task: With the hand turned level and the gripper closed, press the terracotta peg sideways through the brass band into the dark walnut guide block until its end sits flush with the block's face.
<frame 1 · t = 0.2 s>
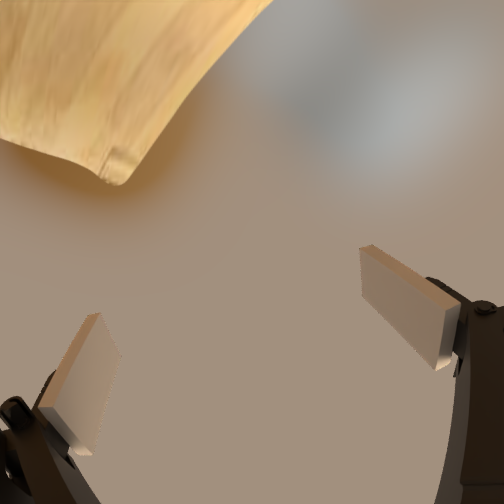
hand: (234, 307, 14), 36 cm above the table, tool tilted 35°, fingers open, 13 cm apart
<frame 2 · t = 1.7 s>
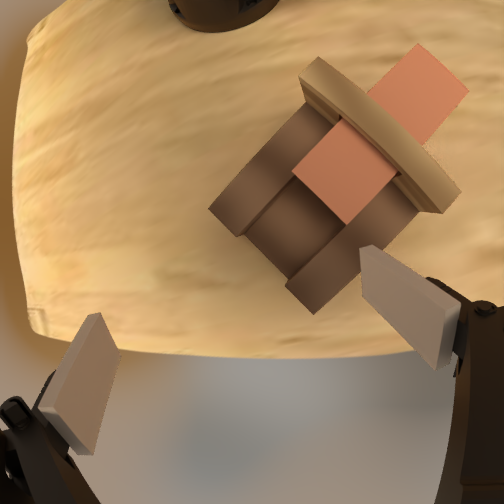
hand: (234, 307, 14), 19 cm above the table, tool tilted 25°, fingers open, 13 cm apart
guide block: (324, 200, 31), on the table
peg: (382, 134, 20), point 9 cm above the table, slide at 7.0 cm
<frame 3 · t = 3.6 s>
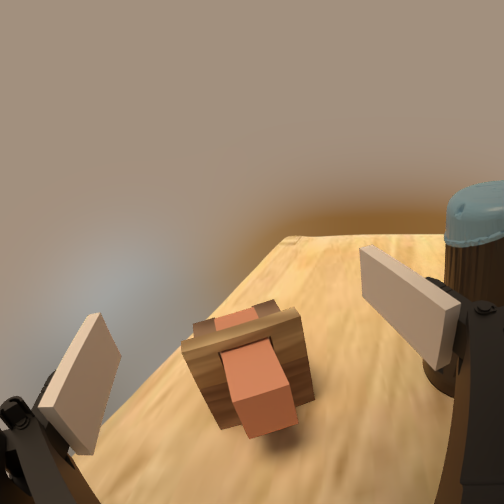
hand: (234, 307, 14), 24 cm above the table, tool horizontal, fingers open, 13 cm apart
guide block: (255, 381, 41), on the table
peg: (251, 367, 31), point 9 cm above the table, slide at 7.0 cm
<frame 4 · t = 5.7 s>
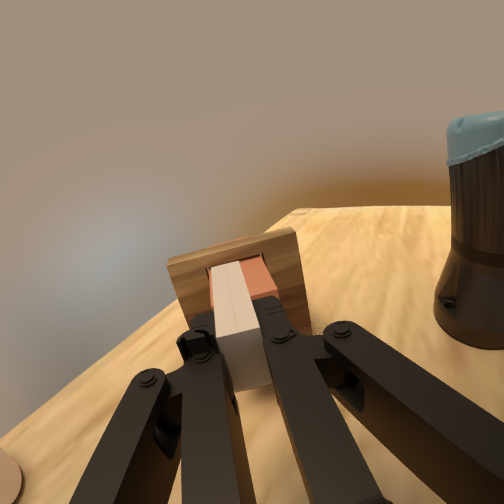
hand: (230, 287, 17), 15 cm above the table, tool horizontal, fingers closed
guide block: (251, 327, 40), on the table
peg: (242, 291, 30), point 9 cm above the table, slide at 7.0 cm
beverage can: (3, 487, 16), on the table
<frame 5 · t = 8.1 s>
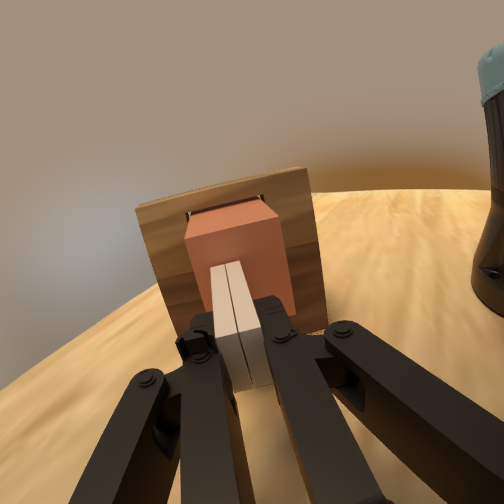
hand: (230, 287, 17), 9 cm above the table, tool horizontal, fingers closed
guide block: (248, 307, 32), on the table
peg: (233, 242, 23), point 9 cm above the table, slide at 5.8 cm, touching gripper
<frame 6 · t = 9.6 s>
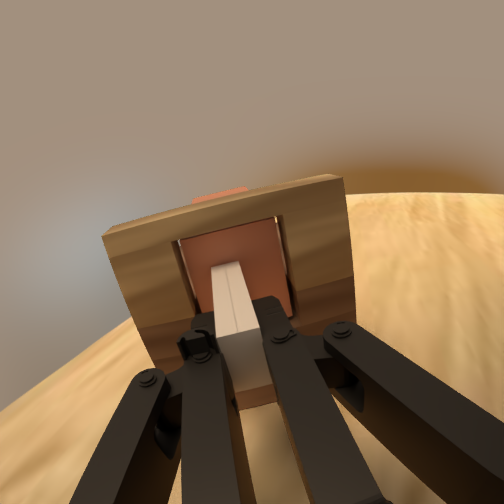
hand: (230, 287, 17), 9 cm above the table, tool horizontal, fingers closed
guide block: (256, 344, 26), on the table
peg: (230, 243, 23), point 9 cm above the table, slide at -0.8 cm, touching gripper
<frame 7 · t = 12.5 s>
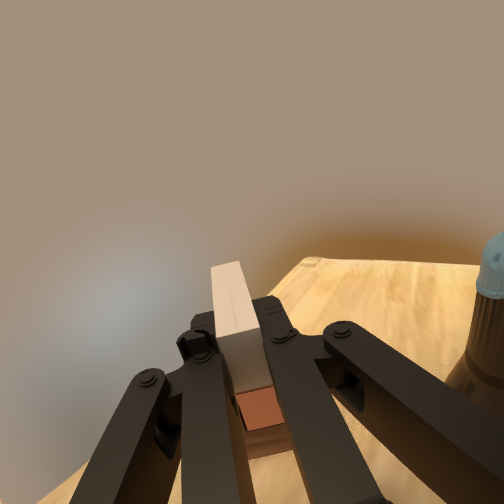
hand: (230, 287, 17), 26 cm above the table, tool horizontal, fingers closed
guide block: (267, 414, 38), on the table
peg: (255, 368, 35), point 9 cm above the table, slide at 0.0 cm
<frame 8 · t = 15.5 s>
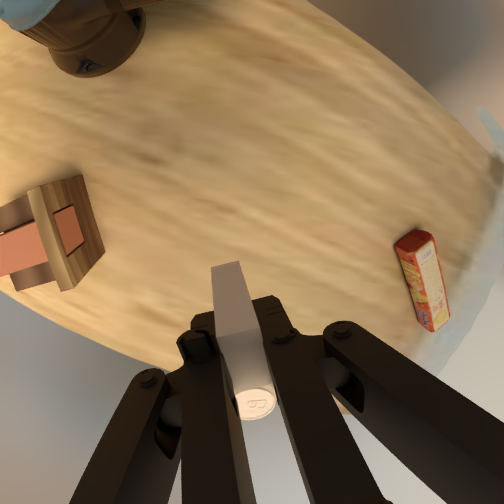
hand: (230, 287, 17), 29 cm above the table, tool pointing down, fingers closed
guide block: (57, 226, 41), on the table
peg: (30, 242, 33), point 9 cm above the table, slide at 0.0 cm
beverage can: (242, 358, 54), on the table
snack package: (416, 277, 55), on the table
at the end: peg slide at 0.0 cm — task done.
